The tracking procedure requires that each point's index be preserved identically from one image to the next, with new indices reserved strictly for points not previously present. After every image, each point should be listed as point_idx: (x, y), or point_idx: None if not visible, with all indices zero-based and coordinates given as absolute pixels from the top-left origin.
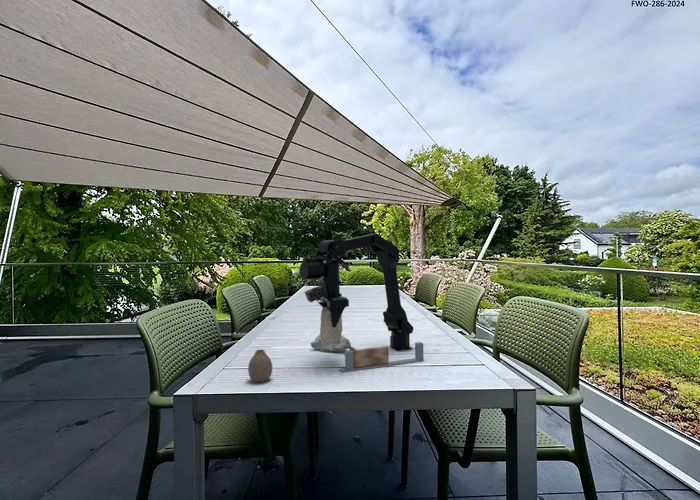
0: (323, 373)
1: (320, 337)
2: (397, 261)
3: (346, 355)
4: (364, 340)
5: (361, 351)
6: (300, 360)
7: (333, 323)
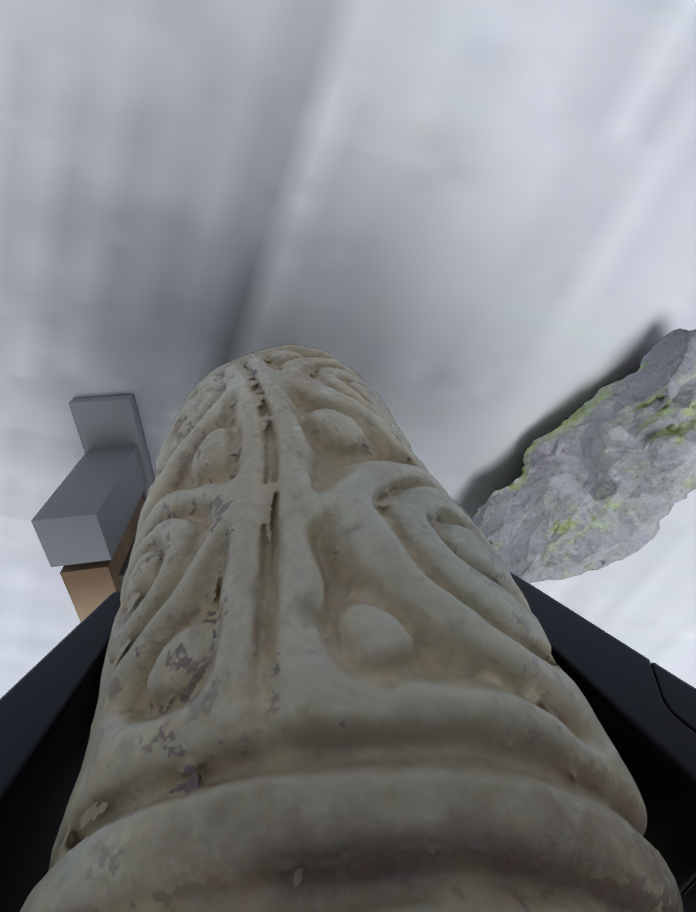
0: (81, 265)
1: (311, 350)
2: None
3: (74, 498)
4: (621, 634)
5: (82, 616)
6: (482, 162)
7: (63, 658)
